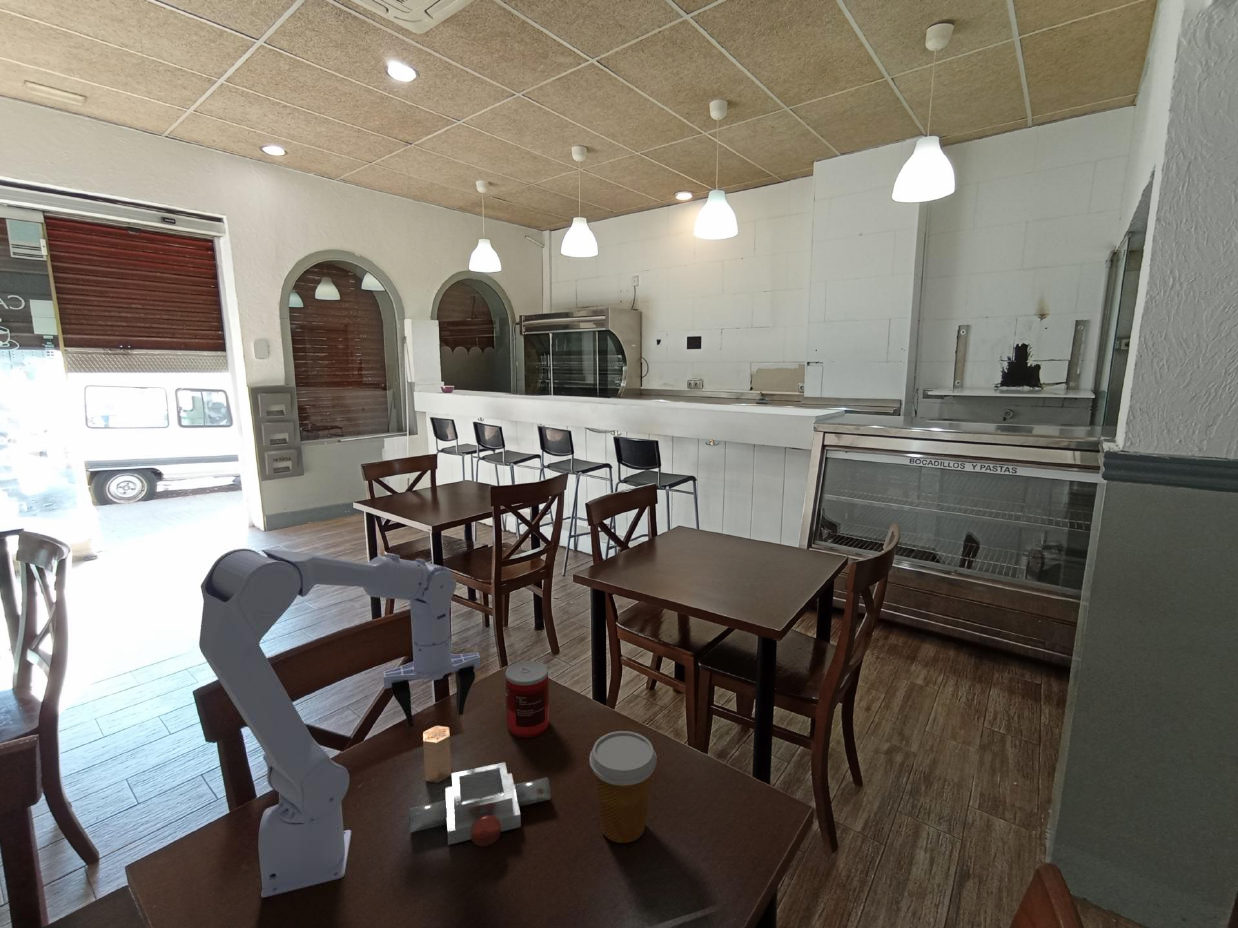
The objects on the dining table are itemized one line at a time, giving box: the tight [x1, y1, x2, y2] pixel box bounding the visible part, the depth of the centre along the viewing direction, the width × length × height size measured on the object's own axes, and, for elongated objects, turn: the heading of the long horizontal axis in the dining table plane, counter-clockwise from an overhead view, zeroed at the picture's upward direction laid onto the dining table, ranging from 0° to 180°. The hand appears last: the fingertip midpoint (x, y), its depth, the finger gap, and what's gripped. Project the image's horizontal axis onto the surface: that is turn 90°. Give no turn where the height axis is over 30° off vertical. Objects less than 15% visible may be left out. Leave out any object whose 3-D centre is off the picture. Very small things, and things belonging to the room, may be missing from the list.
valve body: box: [408, 762, 552, 847], centre depth 82 cm, size 20×11×4 cm, turn 109°
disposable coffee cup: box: [588, 730, 658, 844], centre depth 80 cm, size 10×10×12 cm
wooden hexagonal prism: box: [422, 725, 452, 783], centre depth 91 cm, size 4×5×7 cm
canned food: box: [505, 660, 550, 739], centre depth 104 cm, size 8×8×11 cm
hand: (435, 717), depth 91 cm, fingers open, 7 cm apart
